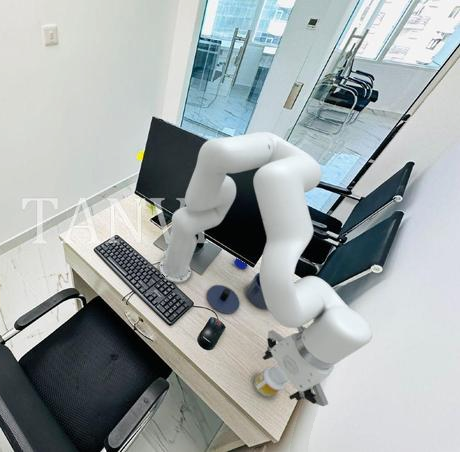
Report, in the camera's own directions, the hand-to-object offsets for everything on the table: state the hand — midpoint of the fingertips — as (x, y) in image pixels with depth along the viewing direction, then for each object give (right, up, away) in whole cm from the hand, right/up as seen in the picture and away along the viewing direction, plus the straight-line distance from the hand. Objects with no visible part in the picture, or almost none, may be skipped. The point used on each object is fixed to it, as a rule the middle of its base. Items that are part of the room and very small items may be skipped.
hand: (280, 375), depth 67 cm
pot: (+10, +13, +29) cm, 33 cm away
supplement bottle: (-1, -7, +7) cm, 10 cm away
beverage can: (+7, +23, +40) cm, 46 cm away
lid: (-5, +13, +26) cm, 30 cm away
